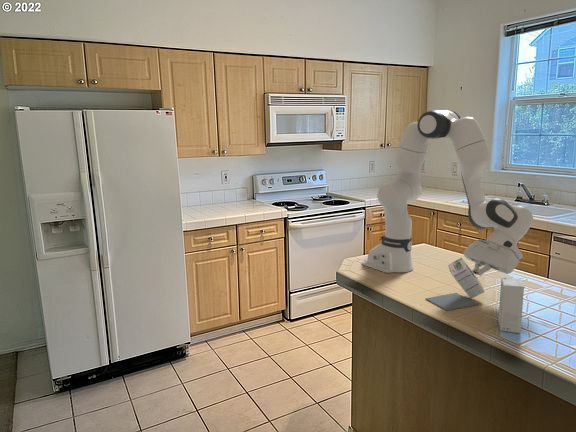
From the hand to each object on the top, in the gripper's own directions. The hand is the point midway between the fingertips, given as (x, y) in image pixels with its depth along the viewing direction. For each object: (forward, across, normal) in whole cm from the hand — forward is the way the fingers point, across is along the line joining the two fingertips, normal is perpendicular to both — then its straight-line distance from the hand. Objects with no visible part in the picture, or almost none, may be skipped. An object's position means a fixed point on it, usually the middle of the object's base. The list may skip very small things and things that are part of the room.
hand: (476, 273), depth 157 cm
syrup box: (+4, -1, +6) cm, 7 cm away
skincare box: (+12, +22, +2) cm, 25 cm away
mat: (+14, 0, 0) cm, 14 cm away
